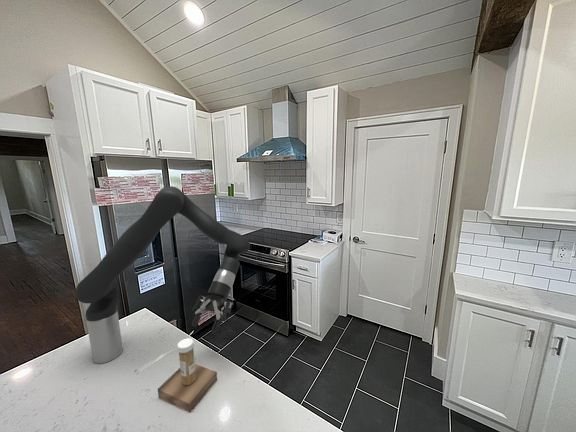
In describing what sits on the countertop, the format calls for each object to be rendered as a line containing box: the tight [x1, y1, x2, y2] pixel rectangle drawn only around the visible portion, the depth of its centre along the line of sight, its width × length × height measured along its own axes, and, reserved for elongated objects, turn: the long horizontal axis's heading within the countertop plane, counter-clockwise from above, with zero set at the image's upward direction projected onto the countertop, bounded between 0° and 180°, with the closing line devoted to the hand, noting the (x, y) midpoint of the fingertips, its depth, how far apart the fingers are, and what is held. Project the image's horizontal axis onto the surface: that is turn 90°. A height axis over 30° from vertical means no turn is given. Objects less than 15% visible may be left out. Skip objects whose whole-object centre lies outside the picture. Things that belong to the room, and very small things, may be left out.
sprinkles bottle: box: [177, 338, 196, 385], centre depth 74 cm, size 5×5×13 cm
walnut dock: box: [157, 363, 218, 413], centre depth 75 cm, size 13×12×3 cm
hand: (203, 329), depth 80 cm, fingers open, 8 cm apart
